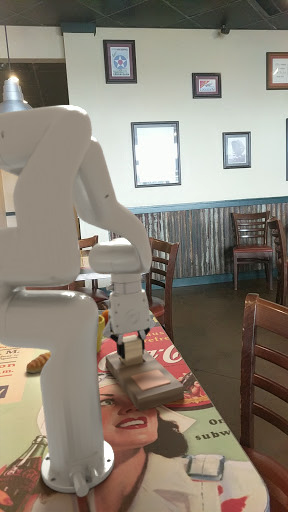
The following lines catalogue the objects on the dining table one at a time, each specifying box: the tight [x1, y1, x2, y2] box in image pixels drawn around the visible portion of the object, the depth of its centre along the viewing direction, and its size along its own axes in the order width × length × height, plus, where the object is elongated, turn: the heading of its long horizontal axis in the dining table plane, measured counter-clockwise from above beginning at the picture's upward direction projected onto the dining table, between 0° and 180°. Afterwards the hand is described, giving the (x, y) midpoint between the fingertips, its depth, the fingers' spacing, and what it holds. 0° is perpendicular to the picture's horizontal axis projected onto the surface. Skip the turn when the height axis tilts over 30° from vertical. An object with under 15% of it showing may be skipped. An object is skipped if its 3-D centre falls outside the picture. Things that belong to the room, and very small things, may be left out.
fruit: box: [100, 309, 112, 331], centre depth 130 cm, size 8×8×8 cm
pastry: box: [25, 351, 51, 374], centre depth 105 cm, size 9×7×4 cm
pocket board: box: [104, 348, 185, 412], centre depth 94 cm, size 24×11×3 cm, turn 23°
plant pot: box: [97, 314, 105, 354], centre depth 113 cm, size 10×10×10 cm
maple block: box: [121, 334, 143, 367], centre depth 99 cm, size 4×4×8 cm
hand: (131, 354), depth 99 cm, fingers closed on maple block, 4 cm apart
